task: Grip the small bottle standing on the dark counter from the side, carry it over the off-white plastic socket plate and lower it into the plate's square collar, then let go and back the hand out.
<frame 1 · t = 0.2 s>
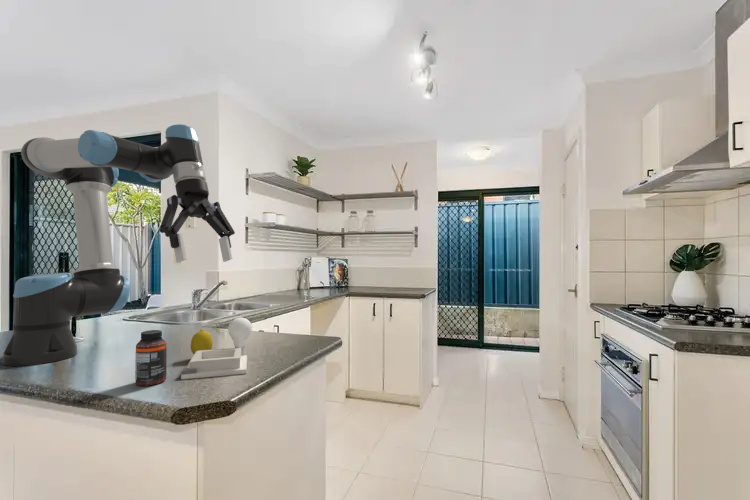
hand: (206, 260, 92), 27 cm above the worktop, tool tilted 15°, fingers open, 13 cm apart
lemon: (201, 359, 100), on the worktop
supplement bottle: (150, 383, 80), on the worktop
lightbulb: (239, 357, 102), on the worktop
socket: (217, 368, 91), on the worktop
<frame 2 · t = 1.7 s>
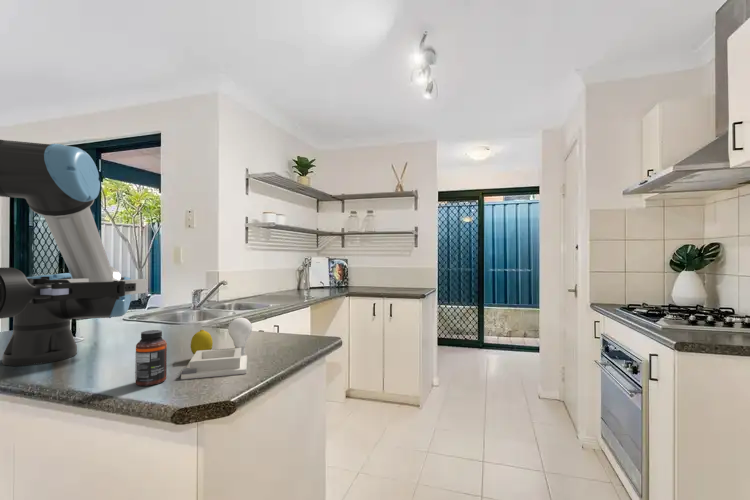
hand: (115, 285, 72), 22 cm above the worktop, tool horizontal, fingers open, 13 cm apart
nothing on the worktop moved.
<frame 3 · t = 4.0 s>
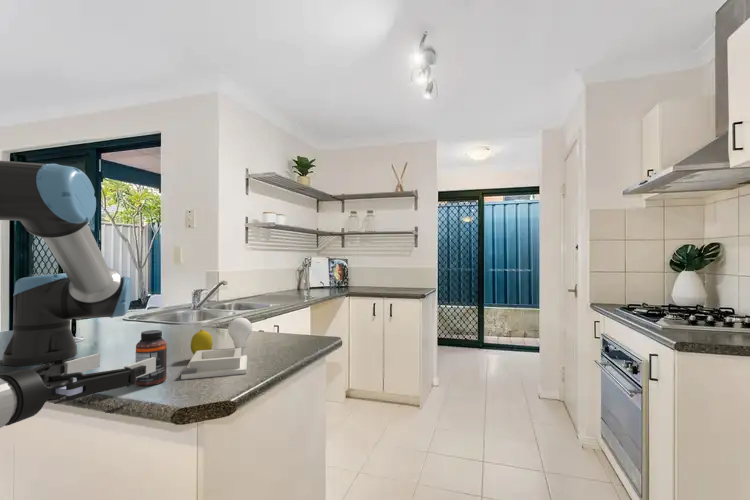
hand: (125, 362, 74), 6 cm above the worktop, tool horizontal, fingers open, 13 cm apart
nothing on the worktop moved.
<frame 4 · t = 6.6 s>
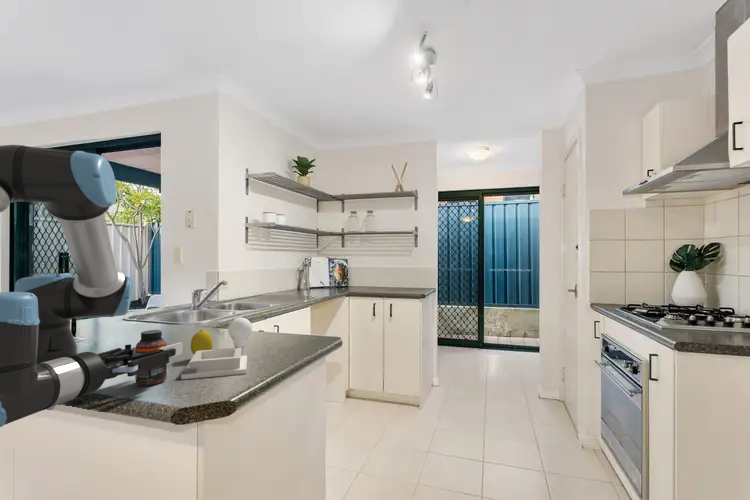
hand: (169, 347, 86), 7 cm above the worktop, tool horizontal, fingers closed on supplement bottle, 6 cm apart
supplement bottle: (150, 383, 80), on the worktop, touching gripper
everything else where it was.
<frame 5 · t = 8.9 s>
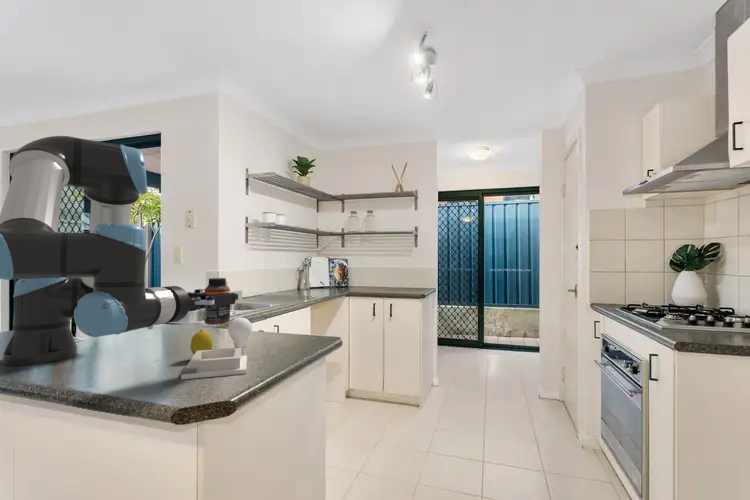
hand: (229, 295, 96), 18 cm above the worktop, tool horizontal, fingers closed on supplement bottle, 6 cm apart
supplement bottle: (217, 323, 91), point 11 cm above the worktop, touching gripper
everything else where it was.
when the fingers open (9 cm above the worktop, at t = 11.3 s): supplement bottle drops 1 cm, resting on socket.
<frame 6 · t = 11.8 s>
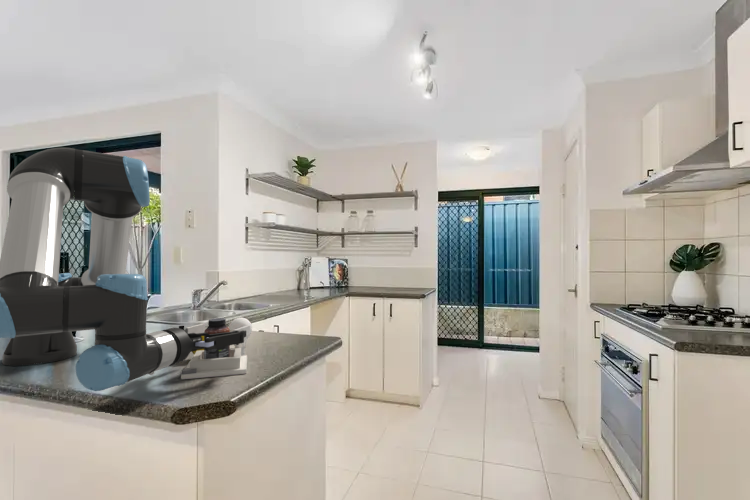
hand: (226, 329, 95), 9 cm above the worktop, tool horizontal, fingers open, 12 cm apart
supplement bottle: (217, 364, 91), point 1 cm above the worktop, touching socket
everything else where it was.
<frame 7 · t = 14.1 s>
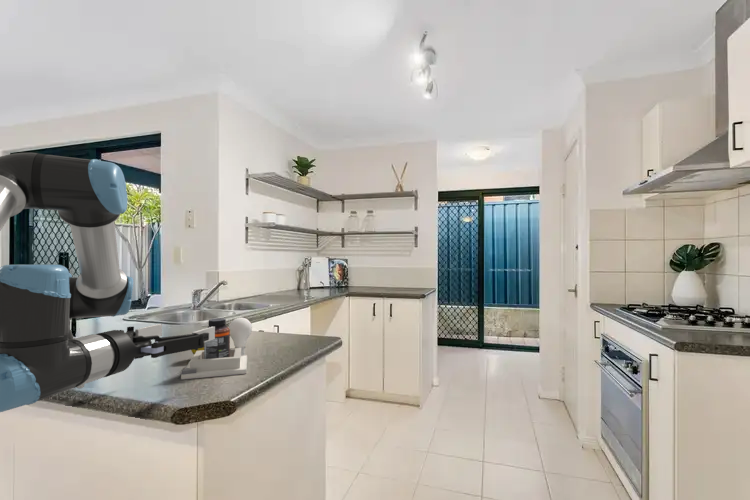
hand: (186, 331, 82), 11 cm above the worktop, tool horizontal, fingers open, 13 cm apart
nothing on the worktop moved.
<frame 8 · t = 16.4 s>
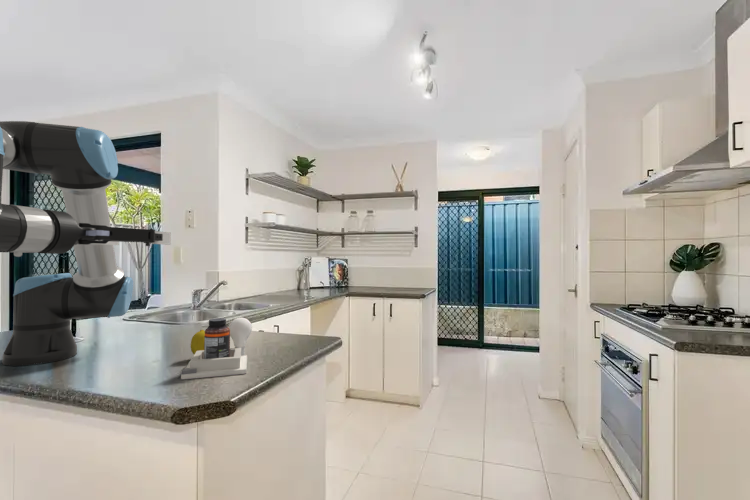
hand: (143, 238, 82), 32 cm above the worktop, tool horizontal, fingers open, 13 cm apart
nothing on the worktop moved.
at the end: supplement bottle 0.1 cm off-centre on the socket, point 0.8 cm above the socket's base; supplement bottle tilted 0°; the gripper is holding nothing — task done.
